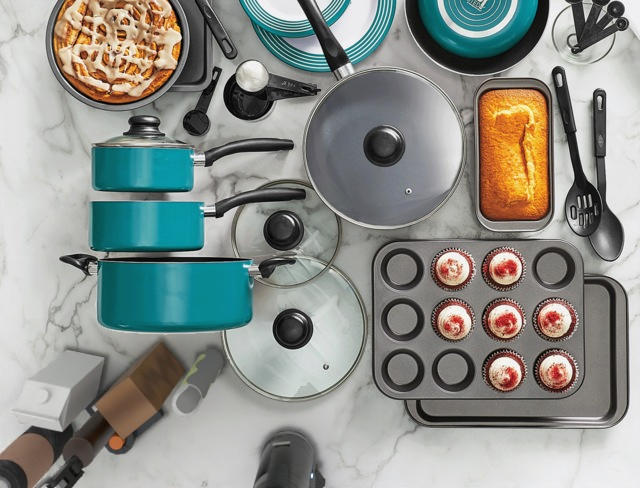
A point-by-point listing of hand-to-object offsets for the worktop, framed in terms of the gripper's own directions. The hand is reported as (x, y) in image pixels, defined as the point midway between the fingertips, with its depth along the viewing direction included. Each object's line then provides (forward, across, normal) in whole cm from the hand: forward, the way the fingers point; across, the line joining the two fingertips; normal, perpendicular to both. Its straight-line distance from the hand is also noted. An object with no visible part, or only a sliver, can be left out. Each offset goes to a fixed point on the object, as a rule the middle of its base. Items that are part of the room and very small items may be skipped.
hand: (54, 479), depth 95 cm
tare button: (+25, -3, -5) cm, 26 cm away
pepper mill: (+24, 0, 0) cm, 24 cm away
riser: (+28, +9, 0) cm, 29 cm away
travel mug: (+28, -14, +3) cm, 31 cm away
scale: (+28, 0, -2) cm, 28 cm away
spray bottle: (+28, +17, -4) cm, 33 cm away
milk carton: (+28, -2, +9) cm, 29 cm away
